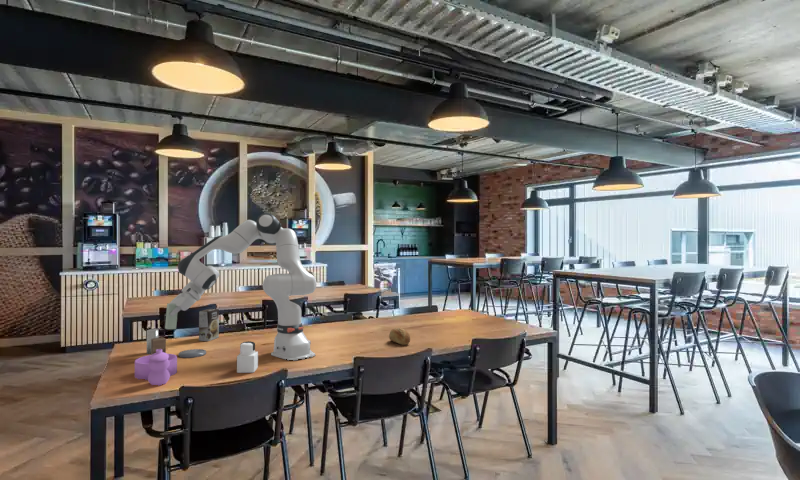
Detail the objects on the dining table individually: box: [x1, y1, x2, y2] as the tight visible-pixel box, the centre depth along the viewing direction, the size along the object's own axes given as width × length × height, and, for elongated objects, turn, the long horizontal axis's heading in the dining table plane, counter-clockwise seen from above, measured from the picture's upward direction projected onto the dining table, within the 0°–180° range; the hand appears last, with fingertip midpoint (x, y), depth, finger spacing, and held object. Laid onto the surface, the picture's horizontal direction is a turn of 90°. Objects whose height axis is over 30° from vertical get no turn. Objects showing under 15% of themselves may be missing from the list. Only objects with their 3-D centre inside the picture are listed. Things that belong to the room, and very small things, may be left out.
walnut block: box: [150, 337, 167, 355], centre depth 203 cm, size 5×5×9 cm
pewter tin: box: [146, 328, 160, 355], centre depth 212 cm, size 5×5×11 cm
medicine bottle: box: [236, 340, 259, 374], centre depth 187 cm, size 7×7×12 cm
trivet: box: [177, 348, 207, 359], centre depth 210 cm, size 12×12×1 cm
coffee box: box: [198, 308, 220, 342], centre depth 241 cm, size 9×6×16 cm
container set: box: [134, 349, 178, 386], centre depth 177 cm, size 25×15×13 cm, turn 33°
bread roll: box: [388, 327, 411, 346], centre depth 237 cm, size 10×15×8 cm, turn 34°
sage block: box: [164, 302, 179, 330], centre depth 212 cm, size 4×4×12 cm
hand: (169, 314), depth 211 cm, fingers closed on sage block, 4 cm apart
